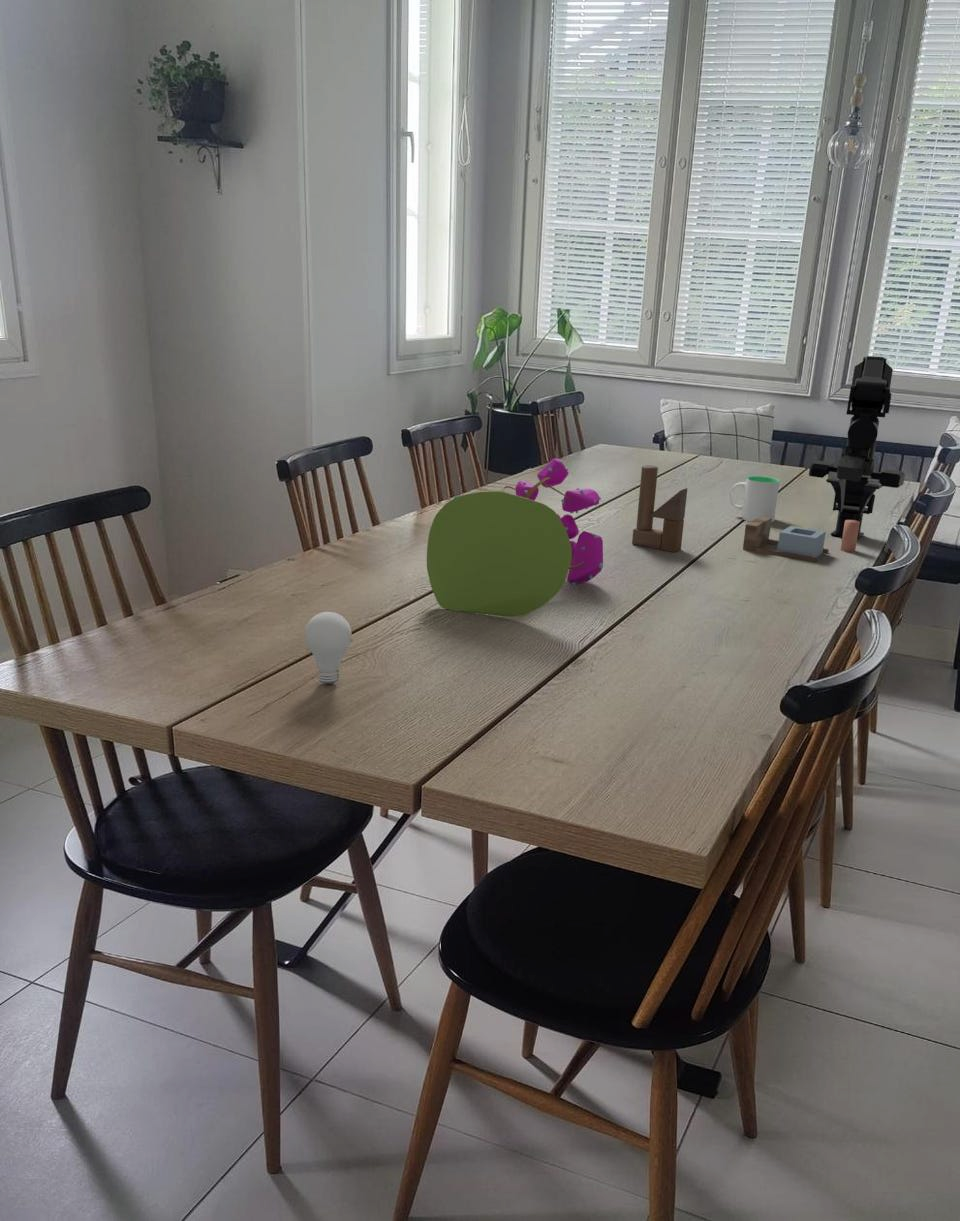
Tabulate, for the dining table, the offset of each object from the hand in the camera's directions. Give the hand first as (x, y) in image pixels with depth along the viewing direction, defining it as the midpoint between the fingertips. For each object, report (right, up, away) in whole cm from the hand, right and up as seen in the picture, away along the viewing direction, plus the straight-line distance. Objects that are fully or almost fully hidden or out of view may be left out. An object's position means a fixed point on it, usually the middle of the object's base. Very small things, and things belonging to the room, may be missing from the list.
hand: (850, 513), depth 219 cm
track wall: (-11, -8, +10) cm, 17 cm away
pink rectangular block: (+4, -8, +13) cm, 15 cm away
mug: (-11, +2, +41) cm, 43 cm away
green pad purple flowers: (-73, -17, -24) cm, 79 cm away
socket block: (-8, -8, +8) cm, 14 cm away
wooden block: (-41, -7, +10) cm, 42 cm away
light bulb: (-103, -32, -72) cm, 130 cm away
